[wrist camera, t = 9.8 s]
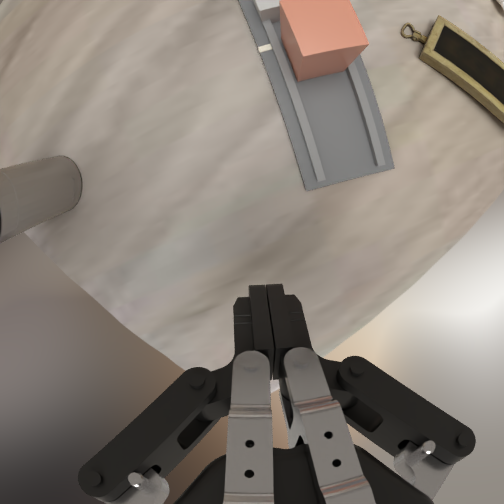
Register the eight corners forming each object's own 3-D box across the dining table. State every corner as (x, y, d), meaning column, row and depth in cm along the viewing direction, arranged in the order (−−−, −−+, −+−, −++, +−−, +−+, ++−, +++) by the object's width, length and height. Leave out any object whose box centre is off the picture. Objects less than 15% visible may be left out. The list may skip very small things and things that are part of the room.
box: (511, 139, 30) (528, 137, 25) (390, 53, 32) (397, 40, 27) (523, 99, 27) (539, 94, 22) (407, 15, 29) (414, 0, 24)
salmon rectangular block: (343, 71, 31) (369, 44, 20) (297, 81, 32) (303, 56, 21) (327, 29, 29) (343, -11, 18) (281, 40, 30) (279, 0, 19)
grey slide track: (391, 167, 36) (409, 173, 30) (305, 189, 38) (309, 199, 32) (317, -29, 26) (322, -51, 20) (233, -10, 29) (225, -31, 23)
